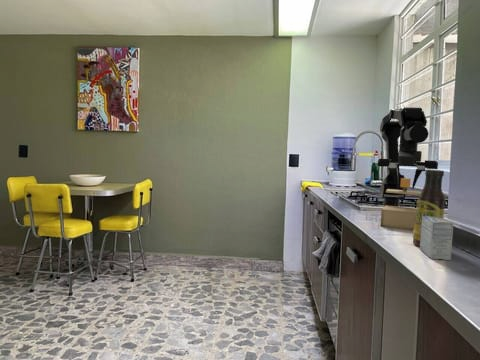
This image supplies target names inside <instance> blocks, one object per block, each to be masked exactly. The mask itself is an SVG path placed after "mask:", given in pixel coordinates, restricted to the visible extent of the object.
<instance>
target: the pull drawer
mask: <svg viewBox="0 0 480 360" xmlns="http://www.w3.org/2000/svg"><path fill="white" fill-rule="evenodd" d="M411 179H412V178H406V177H405V178H401V184H400V187H403V190H394V189H387V190H386V192H388V193H400V194H406V195H411V196H420V194H421V192H422V191H419V190H418V191H417V190H408V188H409V189H410V187H411Z"/></svg>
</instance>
